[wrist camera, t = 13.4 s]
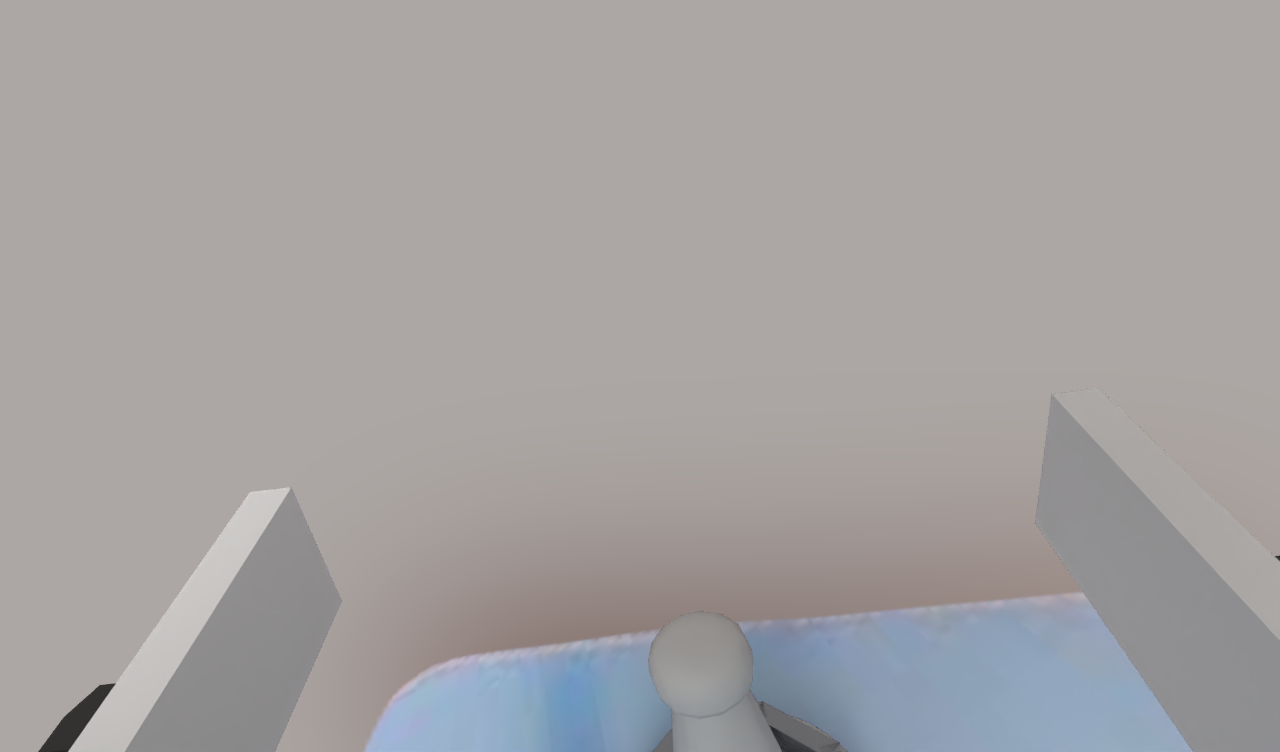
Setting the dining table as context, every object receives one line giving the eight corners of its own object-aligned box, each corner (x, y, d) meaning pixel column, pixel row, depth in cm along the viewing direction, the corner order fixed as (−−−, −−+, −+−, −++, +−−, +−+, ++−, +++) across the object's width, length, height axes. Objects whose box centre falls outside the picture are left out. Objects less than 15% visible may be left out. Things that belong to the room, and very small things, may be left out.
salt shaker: (806, 892, 35) (763, 703, 29) (681, 886, 36) (614, 704, 30) (803, 769, 40) (766, 584, 34) (693, 768, 41) (638, 590, 35)
